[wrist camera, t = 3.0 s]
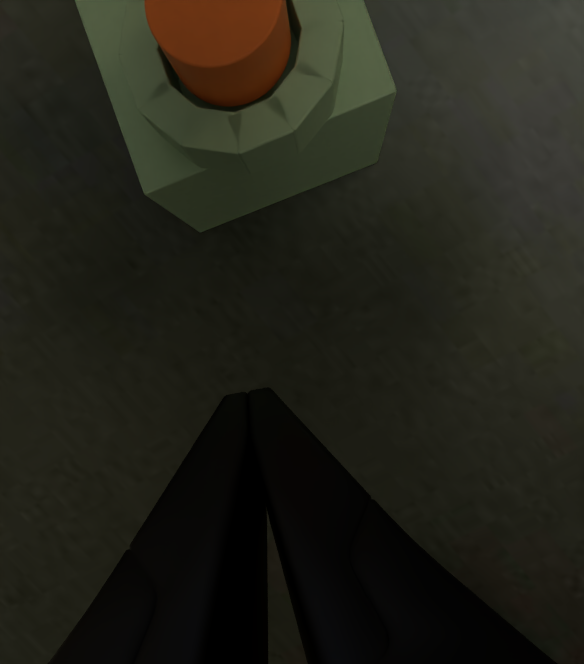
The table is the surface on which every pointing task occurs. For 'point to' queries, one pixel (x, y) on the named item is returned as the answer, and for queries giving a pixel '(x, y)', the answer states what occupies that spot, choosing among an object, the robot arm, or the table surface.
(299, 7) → the button base
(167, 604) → the robot arm
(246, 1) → the orange button cap
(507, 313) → the table surface
